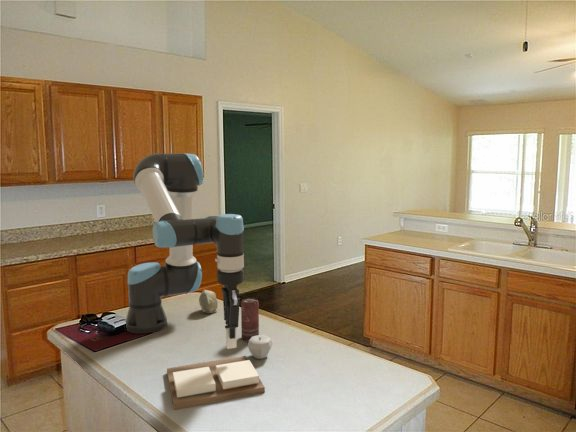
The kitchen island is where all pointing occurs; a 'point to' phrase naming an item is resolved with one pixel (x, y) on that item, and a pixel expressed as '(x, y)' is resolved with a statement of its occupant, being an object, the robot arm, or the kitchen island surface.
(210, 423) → the kitchen island surface
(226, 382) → the tile cream
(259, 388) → the board
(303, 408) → the kitchen island surface
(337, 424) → the kitchen island surface
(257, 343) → the apple
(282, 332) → the kitchen island surface
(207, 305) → the grey rock
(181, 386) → the square block
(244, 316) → the can
